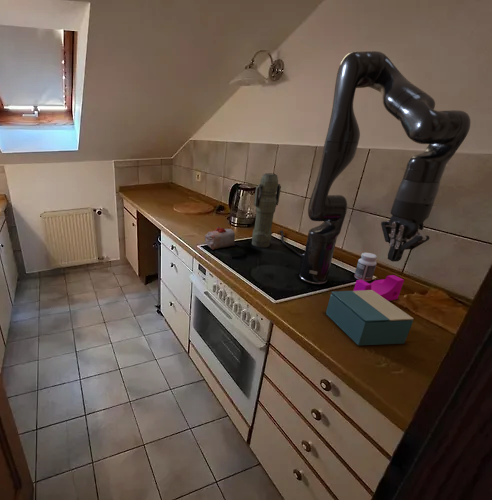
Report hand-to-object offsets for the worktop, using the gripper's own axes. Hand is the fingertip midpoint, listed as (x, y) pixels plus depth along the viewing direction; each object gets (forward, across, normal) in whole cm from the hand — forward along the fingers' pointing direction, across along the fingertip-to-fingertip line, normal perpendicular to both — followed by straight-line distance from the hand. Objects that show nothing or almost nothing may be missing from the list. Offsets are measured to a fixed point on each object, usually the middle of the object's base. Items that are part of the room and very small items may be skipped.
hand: (393, 260), depth 82 cm
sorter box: (+22, +1, -4) cm, 22 cm away
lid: (+14, +1, 0) cm, 14 cm away
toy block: (+22, -14, +11) cm, 28 cm away
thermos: (+23, -66, -8) cm, 70 cm away
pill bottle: (+22, -28, +18) cm, 40 cm away
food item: (+23, -65, -29) cm, 75 cm away
